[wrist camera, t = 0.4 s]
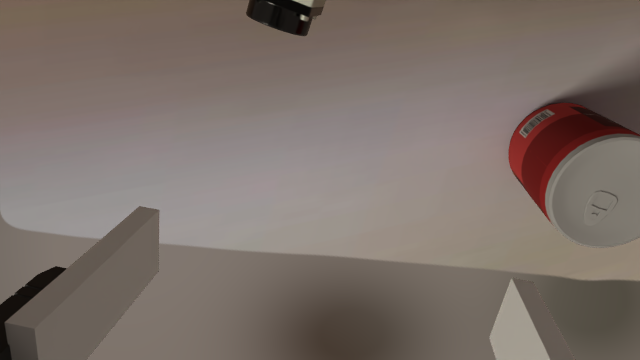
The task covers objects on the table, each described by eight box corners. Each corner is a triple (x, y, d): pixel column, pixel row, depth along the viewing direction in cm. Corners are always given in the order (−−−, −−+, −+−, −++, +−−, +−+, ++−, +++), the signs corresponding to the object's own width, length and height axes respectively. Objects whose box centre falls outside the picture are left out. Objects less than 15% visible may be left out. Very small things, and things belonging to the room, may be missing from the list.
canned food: (497, 184, 41) (536, 243, 31) (516, 96, 38) (565, 131, 28) (585, 192, 40) (654, 255, 30) (611, 103, 38) (697, 141, 27)
